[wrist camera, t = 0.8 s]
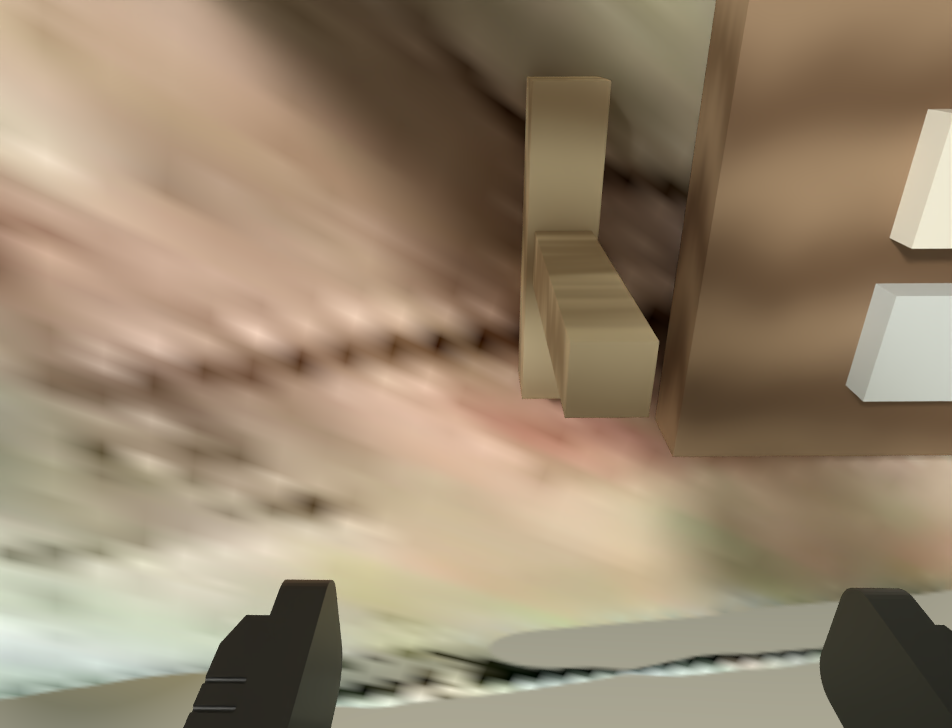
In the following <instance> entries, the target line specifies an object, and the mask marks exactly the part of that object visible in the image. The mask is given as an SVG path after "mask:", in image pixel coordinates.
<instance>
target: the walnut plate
mask: <svg viewBox="0 0 952 728" xmlns="http://www.w3.org/2000/svg"><path fill="white" fill-rule="evenodd" d="M928 109H952V0H716V5H715V12H714V19H713V26H712V33H711V39H710V46H709V53H708V60H707V67H706V74H705V80H704V87H703V94H702V101H701V108H700V115H699V121H698V128H697V135H696V142H695V149H694V156H693V162H692V169H691V176H690V183H689V190H688V197H687V203H686V210H685V217H684V224H683V231H682V238H681V244H680V251H679V258H678V265H677V272H676V279H675V285H674V292H673V299H672V306H671V313H670V320H669V326H668V333H667V340H666V347H665V354H664V361H663V367H662V374H661V381H660V388H659V395H658V402H657V408H656V415H655V420H656V422H657V424H658V426H659V429H660V431H661V433H662V435H663V437H664V439H665V441H666V443H667V445H668V447H669V450H670V452H671V454H672V456H673V457H724V456H884V455H952V401H876V402H863V401H862V400H861V399H860V398H859V397H858V396H857V395H856V394H855V393H853V392H852V391H851V390H850V389H849V388H848V387H847V386H846V382H847V379H848V375H849V372H850V369H851V365H852V362H853V359H854V355H855V352H856V349H857V345H858V342H859V339H860V335H861V332H862V329H863V325H864V322H865V319H866V315H867V312H868V308H869V305H870V302H871V298H872V295H873V292H874V288H875V285H876V284H885V283H952V248H948V249H911V248H909V247H907V246H905V245H903V244H901V243H899V242H897V241H895V240H893V239H891V238H890V235H891V231H892V228H893V225H894V221H895V218H896V215H897V211H898V208H899V205H900V201H901V198H902V195H903V191H904V188H905V185H906V181H907V178H908V174H909V171H910V168H911V164H912V161H913V158H914V154H915V151H916V148H917V144H918V141H919V138H920V134H921V131H922V128H923V124H924V121H925V117H926V114H927V111H928Z"/></svg>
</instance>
